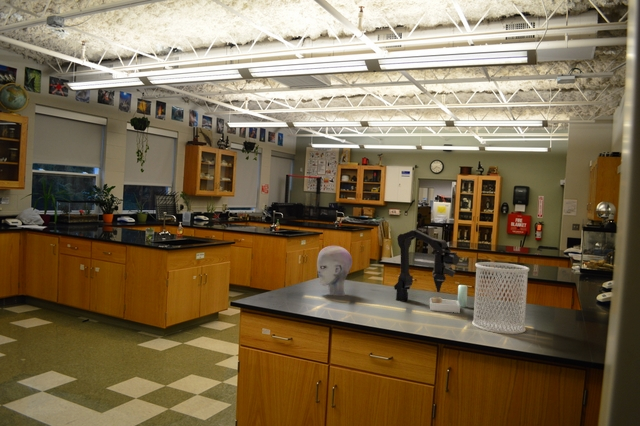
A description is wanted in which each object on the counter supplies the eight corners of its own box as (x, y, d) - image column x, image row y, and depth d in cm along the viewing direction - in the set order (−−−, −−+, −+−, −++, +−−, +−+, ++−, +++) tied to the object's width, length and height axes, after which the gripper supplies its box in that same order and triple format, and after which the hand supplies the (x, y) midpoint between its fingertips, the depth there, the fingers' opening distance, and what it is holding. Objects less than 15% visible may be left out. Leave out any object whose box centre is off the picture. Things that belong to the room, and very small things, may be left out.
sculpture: (324, 298, 274) (326, 247, 273) (308, 291, 292) (311, 244, 291) (356, 296, 285) (359, 247, 284) (339, 290, 303) (341, 243, 302)
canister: (457, 306, 268) (458, 286, 268) (456, 305, 273) (458, 284, 273) (466, 307, 267) (467, 286, 267) (465, 305, 272) (466, 285, 272)
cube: (432, 307, 260) (432, 298, 260) (432, 305, 265) (432, 296, 265) (441, 308, 259) (442, 299, 259) (441, 306, 264) (441, 297, 264)
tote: (430, 310, 256) (430, 303, 256) (429, 305, 270) (429, 298, 270) (459, 313, 253) (460, 305, 253) (457, 307, 267) (457, 300, 267)
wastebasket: (506, 336, 211) (510, 270, 210) (461, 323, 231) (464, 263, 230) (536, 329, 226) (539, 268, 225) (491, 318, 246) (494, 261, 245)
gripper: (455, 265, 251) (454, 294, 251) (453, 261, 269) (451, 288, 269) (434, 264, 253) (433, 293, 253) (433, 260, 271) (431, 287, 272)
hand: (438, 290), depth 262 cm, fingers open, 9 cm apart
